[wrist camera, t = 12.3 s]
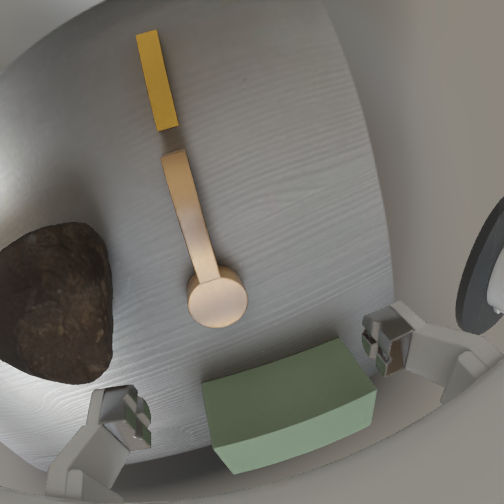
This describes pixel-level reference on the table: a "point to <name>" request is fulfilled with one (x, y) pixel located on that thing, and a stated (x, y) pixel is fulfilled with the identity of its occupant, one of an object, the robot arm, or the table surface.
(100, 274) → the dark brown bone
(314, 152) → the table surface
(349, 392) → the sage green box
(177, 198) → the spoon
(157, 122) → the fry
